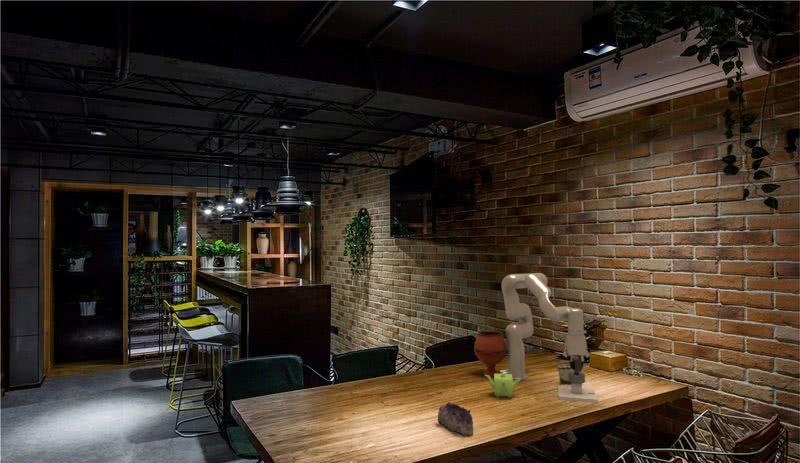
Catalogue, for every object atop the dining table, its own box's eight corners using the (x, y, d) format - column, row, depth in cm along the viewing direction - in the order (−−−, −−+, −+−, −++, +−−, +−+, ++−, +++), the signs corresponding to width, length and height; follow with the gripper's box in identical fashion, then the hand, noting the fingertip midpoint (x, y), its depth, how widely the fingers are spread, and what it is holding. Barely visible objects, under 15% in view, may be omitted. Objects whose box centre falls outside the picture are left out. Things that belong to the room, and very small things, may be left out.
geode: (484, 433, 189) (482, 409, 188) (461, 442, 184) (459, 418, 183) (456, 415, 207) (454, 393, 206) (434, 423, 202) (432, 401, 201)
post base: (558, 399, 230) (558, 385, 230) (557, 388, 247) (557, 375, 247) (597, 402, 224) (597, 388, 224) (594, 391, 241) (593, 378, 241)
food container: (577, 382, 259) (577, 364, 259) (580, 385, 253) (580, 366, 253) (555, 381, 260) (554, 363, 260) (557, 384, 254) (557, 366, 254)
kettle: (504, 402, 226) (503, 379, 226) (483, 394, 238) (482, 372, 238) (524, 396, 235) (523, 374, 235) (502, 389, 246) (502, 368, 247)
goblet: (468, 372, 280) (467, 331, 280) (494, 368, 288) (493, 328, 289) (486, 380, 262) (486, 336, 263) (514, 376, 270) (513, 333, 271)
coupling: (586, 383, 231) (586, 360, 231) (570, 383, 232) (569, 359, 233) (582, 378, 240) (581, 355, 241) (566, 377, 242) (566, 355, 242)
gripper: (589, 331, 240) (590, 367, 239) (557, 331, 241) (557, 366, 240) (594, 334, 232) (595, 370, 232) (561, 334, 233) (562, 370, 232)
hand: (576, 368), depth 236 cm, fingers closed on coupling, 3 cm apart
